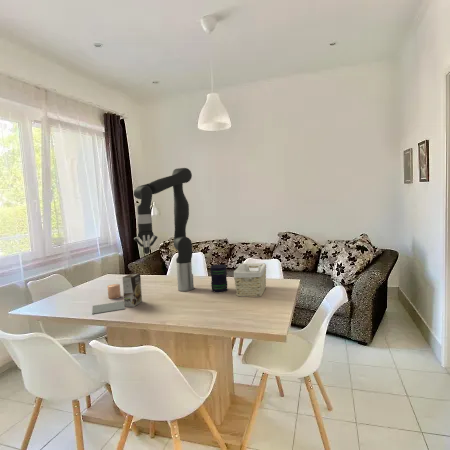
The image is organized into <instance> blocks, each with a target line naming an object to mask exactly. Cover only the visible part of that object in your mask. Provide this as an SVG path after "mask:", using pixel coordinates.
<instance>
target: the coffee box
mask: <svg viewBox="0 0 450 450" xmlns="http://www.w3.org/2000/svg"><path fill="white" fill-rule="evenodd" d="M141 281H142V280H141V273H129V274H126V275H124V276H122V290H123V303H124V306H125V307H132V308H133V307H136V306H138V305H139V304H140V303H142V302H143V297H142V296H143V294H142V283H141Z"/></svg>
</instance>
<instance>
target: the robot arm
mask: <svg viewBox="0 0 450 450" xmlns="http://www.w3.org/2000/svg"><path fill="white" fill-rule="evenodd" d="M192 177H193V175H192V171H191V169H189V168H187V167H179V168H175V169H173V171H172V173H171V175H169V176H165V177H161V178H158V179H155V180H152V181H151V182H149V183H146V184H145V183H144V184H142V185H138V186H137V187H135V188H134V189H133V196H134V197H135V199H137V200H140V203H139V204H138V205H137V206H136V207H137V209H136V211H137V229H138V230H137V231H138V233H137V236H136V237H134V238H133V240H134V241H135V242H136V243H137V244H138V246H140V247H142V248H143V253H144V254H145V255H149V253H150V252H151V250H150V249H151V248H150V247H152V246H153V245H154V244H155V242H156V240H157V239H158V236H157V235H155V233H154V232H153V223H152V222H153V219H152V213H151V212H152V210H151V209H152V208H151V205H152V199H153V195H156V194H159V193H161V192H164V191H165V190H168V189H170V188H172V189H173V190H172V191H173V215H174V216H173V217H174V219H173V221H174V222H173V224H174V233H173V234H174V235H173V246H174V248H175V249H176V251H177V257H176V262H175V263H176V277H177V290H178V291H179V292H189V291H191V290H194V289H195V286H194V273H193V269H192V267H193V266H192V258H193V244H192V241H191V239H190V238H189V237H188V236H187V233H186V232H187V231H186V229H187V225H188V222H189V221H188V220H189V217H190V204H189V201H188V199H187V198H186V195H185V193H184V184H187V183H189V182H190V181H192ZM151 239H152V240H151ZM141 241H142V243H141Z"/></svg>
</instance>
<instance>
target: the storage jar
mask: <svg viewBox="0 0 450 450" xmlns="http://www.w3.org/2000/svg"><path fill="white" fill-rule="evenodd" d="M227 272H228V269H227V265H226V264H213V265H212V264H211V265H210V276H211V278H210V279H211V282H210V284H211V285H210V287H211V292H212V293H224V292H227V291H228V280H227V279H228V278H227V275H228V273H227Z"/></svg>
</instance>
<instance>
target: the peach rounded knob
mask: <svg viewBox="0 0 450 450" xmlns="http://www.w3.org/2000/svg"><path fill="white" fill-rule="evenodd" d="M106 288H107V297H108V299H110V300H112V299H113V300H114V299H119V298H121V296H122V295H121V284H118V283H113V284H109V285H107V287H106Z"/></svg>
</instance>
